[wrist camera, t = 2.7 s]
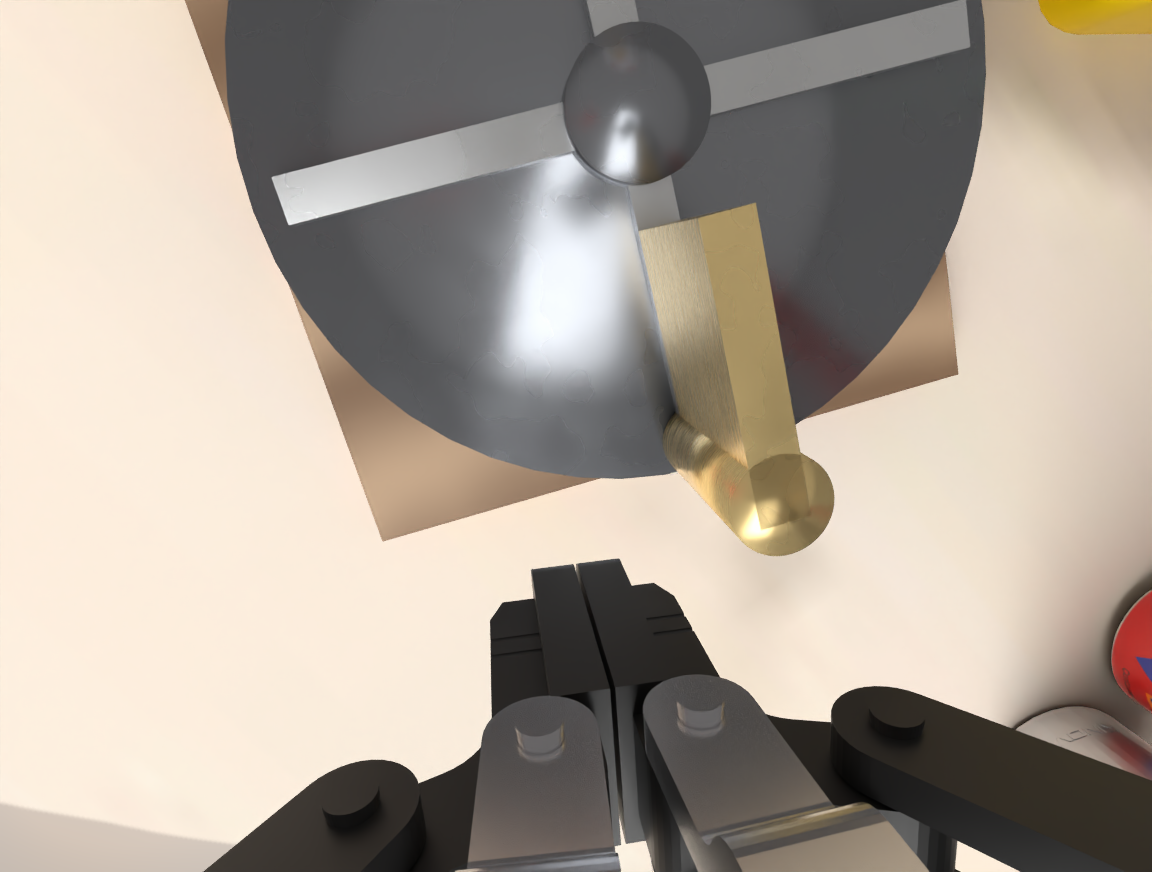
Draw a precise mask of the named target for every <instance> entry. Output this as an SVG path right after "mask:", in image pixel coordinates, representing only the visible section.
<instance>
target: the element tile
mask: <svg viewBox="0 0 1152 872" xmlns="http://www.w3.org/2000/svg"><path fill="white" fill-rule="evenodd" d="M1038 1H1039V5H1040V10H1041V12H1042V14H1043V15H1044V16H1045V18H1046V19H1047V21H1048V22H1049V23H1050V25H1052V26H1054V27H1056V28H1058V29H1060V30H1061V31H1063V32H1066V33H1071V34H1077V35H1079V34H1152V0H1038Z"/></svg>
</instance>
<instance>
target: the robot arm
mask: <svg viewBox="0 0 1152 872" xmlns="http://www.w3.org/2000/svg"><path fill="white" fill-rule="evenodd" d="M531 576H532V587H533V597H534V599H527V600H519V601H511V602H504V603H502V604H501V606H500V607H499V609H498V610H497V611H496V613H495V614H494V616H493V617H492V619H491V620H490V638H491V697H492V719H491V720H490V721H489V723H488V724H487V726H486V728H485V730H484V732H483V736H482V743H481V748H480V749H479V750H478V751H477V752H476V753H475V754H474V755H473V756H472V757H470V758H469V759H468V760H467V761H465V762H464V763H462V764H461V765H459V766H457V767H456V768H454V769H452V770H450V771H448V772H445V773H443V774H441V775H438V776H436V777H434V778H431V779H429V780H426V781H424V782H421V783H419V784H418V781H417V779H416V777H415V776H414V774H413V773H412V772H411V771H410V770H409V769H408V768H406V767H404V766H403V765H401V764H398V763H395V762H392V761H386V760H366V761H360V762H355V763H351V764H348V765H345V766H342V767H339V768H337V769H335V770H333V771H331V772H328V773H327V774H325V775H323V776H322V777H320V778H318V779H317V780H316V781H314V782H313V783H311V784H310V785H309V786H308V787H306V788H305V789H304V790H303V791H301V792H300V793H299V794H298V795H297V796H295V797H294V798H293V799H292V800H290V801H289V802H288V803H287V804H286V805H284V806H283V807H282V808H281V809H279V810H278V811H277V812H276V813H275V814H273V815H272V816H271V817H270V818H268V819H267V820H266V821H265V822H264V823H262V824H261V825H260V826H259V827H257V828H256V829H255V830H254V831H253V832H251V833H250V834H249V835H248V836H246V837H245V838H244V839H243V840H241V841H240V842H239V843H238V844H237V845H235V846H234V847H233V848H232V849H230V850H229V851H228V852H227V853H226V854H224V855H223V856H222V857H221V858H219V859H218V860H217V861H216V862H215V863H213V864H212V865H211V866H210V867H208V868H207V869H206V870H205V871H204V872H621V869H620V862H619V857H618V853H615V847H614V846H618V845H621V839H620V824H619V817H620V821H621V825H622V830H623V834H624V838H625V842H626V844H628V843H634V842H640V841H646V842H647V846H648V850H649V853H650V857H651V862H652V872H960V871H958V870H956V869H955V861H956V849H957V841H959V842H961V843H963V844H966V845H968V846H970V847H972V848H974V849H976V850H978V851H980V852H982V853H984V854H986V855H988V856H990V857H992V858H994V859H996V860H998V861H1000V862H1002V863H1004V864H1006V865H1008V866H1010V867H1012V868H1014V869H1016V870H1018V871H1020V872H1152V746H1151V745H1150V744H1149V743H1147V742H1146V741H1144V740H1143V739H1142V738H1140V737H1139V736H1138V735H1136V734H1135V733H1133V732H1132V731H1131V730H1129V729H1128V728H1127V727H1125V726H1124V725H1122V724H1121V723H1120V722H1118V721H1117V720H1115V719H1114V718H1113V717H1111V716H1110V715H1108V714H1106V713H1104V712H1102V711H1100V710H1097V709H1093V708H1088V707H1083V706H1079V707H1064V708H1059V709H1055V710H1050V711H1048V712H1045V713H1043V714H1041V715H1038V716H1036V717H1034V718H1032V719H1030V720H1029V721H1027V722H1026V723H1024V724H1023V725H1021V726H1019V727H1018V728H1017V729H1016V730H1014V729H1011V728H1009V727H1006V726H1003V725H1001V724H998V723H995V722H993V721H990V720H987V719H984V718H982V717H979V716H976V715H974V714H971V713H968V712H966V711H963V710H960V709H957V708H955V707H952V706H949V705H947V704H944V703H941V702H939V701H936V700H933V699H930V698H928V697H925V696H922V695H920V694H917V693H914V692H911V691H907V690H903V689H898V688H892V687H882V686H872V687H863V688H857V689H854V690H851V691H848V692H847V693H845V694H843V695H841V696H840V697H839V698H838V699H837V700H836V701H835V703H834V704H833V707H832V710H831V722H818V721H806V720H793V719H785V718H779V717H774V716H770V715H767V714H765V713H764V711H763V710H762V709H761V707H760V706H759V705H758V703H757V702H756V701H755V699H754V698H753V697H752V696H751V695H750V694H749V692H747V691H746V690H745V689H744V688H742V687H741V686H739V685H737V684H736V683H734V682H731V681H729V680H727V679H723V678H720V677H719V675H718V673H717V671H716V670H715V668H714V666H713V664H712V662H711V661H710V659H709V657H708V655H707V654H706V652H705V650H704V648H703V646H702V645H701V643H700V641H699V639H698V638H697V636H696V634H695V632H694V631H692V627H691V625H690V623H689V622H688V620H687V618H686V617H684V613H683V611H682V609H681V607H680V606H679V604H678V602H677V600H676V599H675V597H674V596H673V595H672V594H670V593H669V592H667V591H665V590H664V589H662V588H661V587H659V586H658V585H656V584H655V583H649V584H642V585H634V586H631V584H630V581H629V579H628V577H627V575H626V572H625V570H624V568H623V566H622V564H621V561H620V559H611V560H603V561H595V562H587V563H579V564H576V571H575V567H574V565H573V564H572V565H564V566H556V567H548V568H540V569H532V570H531Z"/></svg>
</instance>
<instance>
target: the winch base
mask: <svg viewBox="0 0 1152 872" xmlns="http://www.w3.org/2000/svg"><path fill="white" fill-rule="evenodd" d="M185 2H186V5H187V8H188V10H189V13H190V16H191V18H192V21H193V24H194V27H195V29H196V32H197V35H198V38H199V40H200V43H201V46H202V49H203V51H204V54H205V57H206V60H207V62H208V65H209V68H210V70H211V73H212V76H213V79H214V81H215V84H216V87H217V90H218V92H219V95H220V98H221V101H222V103H223V106H224V109H225V112H226V114H227V117H228V120H229V122H230V125H231V119H230V113H229V107H228V101H227V82H226V59H225V31H226V19H227V7H228V0H185ZM231 128H232V125H231ZM289 287H290V286H289ZM290 289H291V287H290ZM291 292H292V295H293V298H294V300H295V303H296V306H297V308H298V311H299V314H300V317H301V319H302V322H303V325H304V328H305V330H306V333H307V336H308V339H309V341H310V344H311V347H312V350H313V352H314V355H315V358H316V360H317V363H318V366H319V369H320V371H321V374H322V377H323V380H324V382H325V385H326V388H327V391H328V393H329V396H330V399H331V402H332V404H333V407H334V410H335V412H336V415H337V418H338V421H339V423H340V426H341V429H342V432H343V434H344V437H345V440H346V443H347V445H348V448H349V451H350V453H351V456H352V459H353V462H354V464H355V467H356V470H357V473H358V475H359V478H360V481H361V484H362V486H363V489H364V492H365V495H366V497H367V500H368V503H369V505H370V508H371V511H372V514H373V516H374V519H375V522H376V525H377V527H378V530H379V533H380V536H381V538H382V541H386V540H390V539H393V538H396V537H400V536H403V535H407V534H410V533H414V532H417V531H421V530H424V529H427V528H431V527H434V526H438V525H441V524H445V523H448V522H451V521H455V520H458V519H462V518H465V517H469V516H472V515H476V514H479V513H482V512H486V511H489V510H493V509H496V508H500V507H503V506H507V505H510V504H513V503H517V502H520V501H524V500H527V499H531V498H534V497H538V496H541V495H544V494H548V493H551V492H555V491H558V490H562V489H565V488H568V487H572V486H575V485H579V484H582V483H586V482H589V481H593V480H596V479H599V478H582V477H573V476H566V475H560V474H554V473H548V472H541V471H535V470H531V469H528V468H525V467H521V466H518V465H514V464H511V463H508V462H504V461H501V460H497V459H494V458H491V457H489V456H486V455H484V454H482V453H479V452H477V451H475V450H473V449H470V448H468V447H466V446H463V445H461V444H459V443H457V442H454V441H452V440H450V439H448V438H446V437H445V436H443V435H441V434H440V433H438V432H436V431H435V430H433V429H431V428H430V427H428V426H426V425H425V424H423V423H421V422H420V421H418V420H416V419H415V418H413V417H411V416H410V415H408V414H407V413H405V412H404V411H403V410H402V409H400V408H399V407H398V406H397V405H395V404H394V403H393V402H391V401H390V400H389V399H388V398H386V397H385V396H384V395H382V394H381V393H380V392H379V391H377V390H376V389H375V388H374V387H372V386H371V385H370V384H369V383H368V382H367V381H366V380H365V379H364V378H363V377H362V376H361V375H360V374H359V373H358V372H357V371H356V370H355V369H354V368H353V367H352V366H351V365H350V364H349V363H348V362H347V361H346V360H345V359H344V358H343V357H342V356H341V355H340V354H339V353H338V352H337V351H336V350H335V349H334V348H333V346H332V345H331V344H330V342H329V341H328V340H327V339H326V337H325V336H324V335H323V333H322V332H321V331H320V330H319V328H318V327H317V326H316V324H315V323H314V322H313V321H312V319H311V318H310V317H309V315H308V314H307V313H306V311H305V310H304V309H303V307H302V306H301V304H300V302H299V301H298V299H297V297H296V296H295V294H294V292H293V291H292V289H291ZM957 374H958V366H957V357H956V348H955V339H954V329H953V320H952V311H951V302H950V292H949V283H948V274H947V264H946V255H945V252H944V254H943V256H942V259H941V261H940V263H939V265H938V267H937V269H936V271H935V273H934V274H933V276H932V278H931V280H930V281H929V283H928V285H927V287H926V288H925V290H924V292H923V293H922V295H921V297H920V299H919V300H918V302H917V304H916V306H915V307H914V309H913V310H912V311H911V313H910V314H909V316H908V317H907V318H906V320H905V321H904V322H903V324H902V325H901V326H900V328H899V329H898V330H897V332H896V333H895V335H894V336H893V337H892V339H891V340H890V341H889V343H888V344H887V345H886V346H885V347H884V348H883V350H882V351H881V352H880V353H879V354H878V355H877V356H876V357H875V358H874V359H873V360H872V361H871V363H870V364H869V365H868V366H867V367H866V368H865V369H864V370H863V371H862V372H861V373H860V374H859V375H858V377H857V378H855V379H854V380H853V381H852V382H851V383H850V384H848V385H847V386H846V387H845V388H844V389H843V390H841V391H840V392H839V393H838V394H837V395H836V396H834V397H833V398H832V399H831V400H830V401H829V402H827V403H826V404H825V405H824V406H823V407H821V408H820V409H818V410H817V411H815V412H814V413H812V414H811V415H809V416H808V417H806V418H809V417H813V416H816V415H820V414H823V413H827V412H830V411H833V410H837V409H840V408H844V407H847V406H851V405H854V404H858V403H861V402H864V401H868V400H871V399H875V398H878V397H882V396H885V395H889V394H892V393H895V392H899V391H902V390H906V389H909V388H913V387H916V386H920V385H923V384H926V383H930V382H933V381H937V380H940V379H944V378H947V377H950V376H954V375H957ZM806 418H805V419H806ZM677 473H678V472H674V473H670V474H671V475H674V474H677Z"/></svg>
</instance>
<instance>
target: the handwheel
mask: <svg viewBox="0 0 1152 872" xmlns="http://www.w3.org/2000/svg"><path fill="white" fill-rule="evenodd" d="M225 59H226V82H227V101H228V107H229V113H230V119H231V125H232V131H233V136H234V142H235V148H236V154H237V159H238V162H239V165H240V169H241V172H242V175H243V179H244V182H245V185H246V189H247V192H248V195H249V199H250V202H251V205H252V209H253V212H254V214H255V216H256V219H257V221H258V223H259V226H260V228H261V230H262V232H263V235H264V237H265V239H266V241H267V244H268V246H269V248H270V251H271V253H272V255H273V257H274V260H275V262H276V264H277V265H278V267H279V269H280V270H281V272H282V274H283V275H284V277H285V279H286V281H287V282H288V284H289V286H290V287H291V289H292V291H293V292H294V294H295V296H296V297H297V299H298V301H299V302H300V304H301V306H302V307H303V309H304V310H305V311H306V313H307V314H308V315H309V317H310V318H311V319H312V321H313V322H314V323H315V324H316V326H317V327H318V328H319V330H320V331H321V332H322V333H323V335H324V336H325V337H326V339H327V340H328V341H329V342H330V344H331V345H332V346H333V348H334V349H335V350H336V351H337V352H338V353H339V354H340V355H341V356H342V357H343V358H344V359H345V360H346V361H347V362H348V363H349V364H350V365H351V366H352V367H353V368H354V369H355V370H356V371H357V372H358V373H359V374H360V375H361V376H362V377H363V378H364V379H365V380H366V381H367V382H368V383H369V384H370V385H371V386H372V387H374V388H375V389H376V390H377V391H379V392H380V393H381V394H382V395H384V396H385V397H386V398H388V399H389V400H390V401H391V402H393V403H394V404H395V405H397V406H398V407H399V408H400V409H402V410H403V411H404V412H405V413H407V414H408V415H410V416H411V417H413V418H415V419H416V420H418V421H420V422H421V423H423V424H425V425H426V426H428V427H430V428H431V429H433V430H435V431H436V432H438V433H440V434H441V435H443V436H445V437H446V438H448V439H450V440H452V441H454V442H457V443H459V444H461V445H463V446H466V447H468V448H470V449H473V450H475V451H477V452H479V453H482V454H484V455H486V456H489V457H491V458H494V459H497V460H501V461H504V462H508V463H511V464H514V465H518V466H521V467H525V468H528V469H531V470H535V471H541V472H548V473H554V474H560V475H566V476H573V477H582V478H614V479H624V478H635V477H645V476H656V475H665V474H670V473H674V472H678V473H679V474H680V475H681V476H682V477H683V478H684V479H685V480H686V481H687V482H688V484H689V485H690V486H691V487H692V488H693V489H694V490H695V491H696V492H697V493H698V494H699V495H700V497H701V498H702V499H703V500H704V501H705V502H706V503H707V504H708V505H709V506H710V507H711V508H712V510H713V511H714V512H715V513H716V514H717V515H718V516H719V517H720V518H721V519H722V520H723V521H724V523H725V524H726V525H727V526H728V527H729V528H730V529H731V530H732V531H733V532H734V533H735V534H736V536H737V537H738V538H739V539H740V540H741V541H742V542H743V543H744V544H745V545H746V546H747V547H749V548H750V549H752V550H754V551H756V552H758V553H761V554H764V555H769V556H783V555H788V554H792V553H795V552H798V551H800V550H802V549H804V548H806V547H807V546H809V545H810V544H811V543H813V542H814V541H815V540H816V539H817V538H818V537H819V536H820V535H821V533H822V532H823V531H824V529H825V528H826V526H827V524H828V523H829V520H830V518H831V515H832V512H833V507H834V490H833V486H832V483H831V480H830V478H829V476H828V474H827V473H826V471H825V470H824V469H823V468H822V467H821V466H820V465H819V464H818V463H817V462H815V461H814V460H812V459H810V458H809V457H807V456H805V455H804V454H802V453H800V449H799V443H798V437H797V432H796V426H795V425H796V424H797V423H799V422H800V421H802V420H803V419H805V418H806V417H808V416H809V415H811V414H812V413H814V412H815V411H817V410H818V409H820V408H821V407H823V406H824V405H825V404H826V403H827V402H829V401H830V400H831V399H832V398H833V397H834V396H836V395H837V394H838V393H839V392H840V391H841V390H843V389H844V388H845V387H846V386H847V385H848V384H850V383H851V382H852V381H853V380H854V379H855V378H857V377H858V375H859V374H860V373H861V372H862V371H863V370H864V369H865V368H866V367H867V366H868V365H869V364H870V363H871V361H872V360H873V359H874V358H875V357H876V356H877V355H878V354H879V353H880V352H881V351H882V350H883V348H884V347H885V346H886V345H887V344H888V343H889V341H890V340H891V339H892V337H893V336H894V335H895V333H896V332H897V330H898V329H899V328H900V326H901V325H902V324H903V322H904V321H905V320H906V318H907V317H908V316H909V314H910V313H911V311H912V310H913V309H914V307H915V306H916V304H917V302H918V300H919V299H920V297H921V295H922V293H923V292H924V290H925V288H926V287H927V285H928V283H929V281H930V280H931V278H932V276H933V274H934V273H935V271H936V269H937V267H938V265H939V263H940V261H941V259H942V256H943V254H944V252H945V249H946V247H947V245H948V242H949V240H950V238H951V236H952V233H953V231H954V229H955V226H956V224H957V222H958V218H959V215H960V212H961V209H962V206H963V202H964V199H965V196H966V193H967V189H968V186H969V183H970V180H971V177H972V172H973V167H974V162H975V157H976V152H977V147H978V141H979V136H980V131H981V126H982V114H983V102H984V90H985V77H986V66H985V31H984V17H983V10H982V3H981V0H228V7H227V19H226V31H225Z"/></svg>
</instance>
